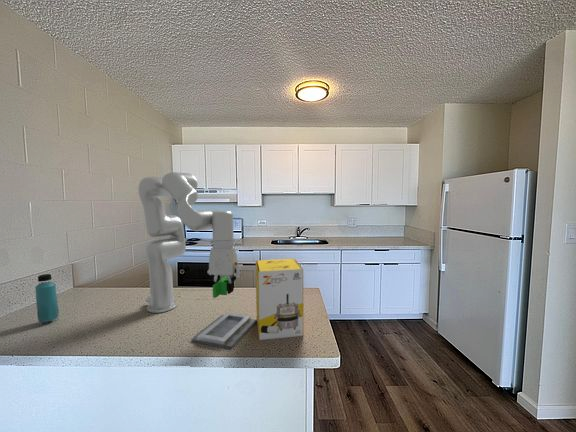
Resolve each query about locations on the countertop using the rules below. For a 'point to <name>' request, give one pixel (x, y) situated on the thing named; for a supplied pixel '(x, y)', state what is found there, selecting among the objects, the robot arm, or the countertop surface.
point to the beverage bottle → (46, 299)
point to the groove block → (225, 330)
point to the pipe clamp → (220, 287)
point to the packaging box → (279, 298)
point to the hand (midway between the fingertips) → (224, 291)
